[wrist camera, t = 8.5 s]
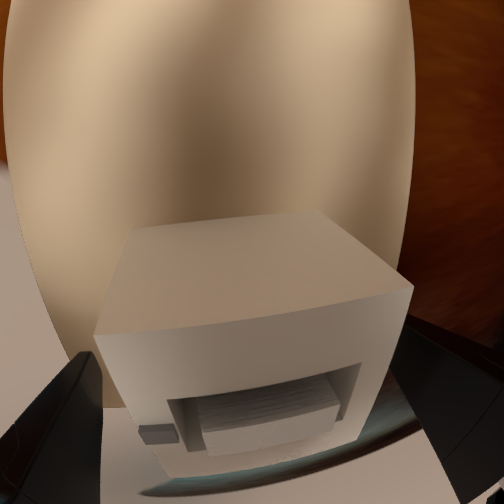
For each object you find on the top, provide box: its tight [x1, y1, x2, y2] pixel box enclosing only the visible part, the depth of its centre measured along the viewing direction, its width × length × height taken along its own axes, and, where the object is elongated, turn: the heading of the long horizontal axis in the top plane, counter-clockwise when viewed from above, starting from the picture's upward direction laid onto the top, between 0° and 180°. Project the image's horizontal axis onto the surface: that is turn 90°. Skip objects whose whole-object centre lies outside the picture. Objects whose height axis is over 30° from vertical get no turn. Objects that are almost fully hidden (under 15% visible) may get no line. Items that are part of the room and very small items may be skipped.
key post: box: [197, 373, 341, 457], centre depth 8 cm, size 3×1×6 cm, turn 91°
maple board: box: [3, 0, 415, 408], centre depth 9 cm, size 14×21×2 cm, turn 1°
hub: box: [93, 210, 414, 478], centre depth 8 cm, size 6×6×5 cm
